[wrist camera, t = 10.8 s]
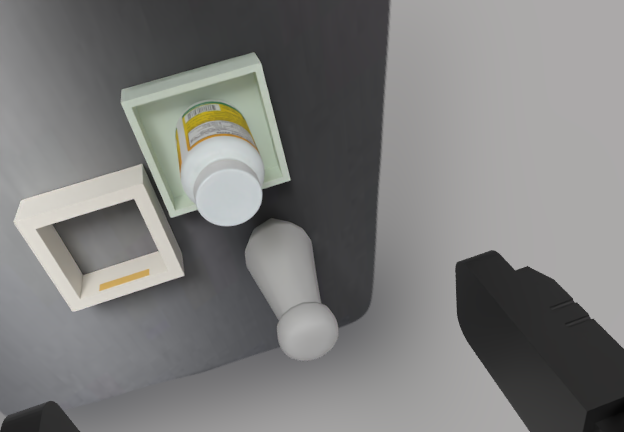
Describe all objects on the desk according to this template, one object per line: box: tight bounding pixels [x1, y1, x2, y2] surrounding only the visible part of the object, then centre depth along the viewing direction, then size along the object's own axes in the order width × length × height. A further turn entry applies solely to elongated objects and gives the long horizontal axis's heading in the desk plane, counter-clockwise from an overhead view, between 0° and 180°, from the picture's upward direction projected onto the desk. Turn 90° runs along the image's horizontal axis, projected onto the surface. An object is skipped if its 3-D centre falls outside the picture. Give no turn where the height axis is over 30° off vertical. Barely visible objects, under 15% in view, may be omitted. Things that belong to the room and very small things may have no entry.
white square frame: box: [14, 164, 185, 312], centre depth 40 cm, size 9×9×3 cm
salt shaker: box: [245, 218, 339, 361], centre depth 41 cm, size 6×6×13 cm
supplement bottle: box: [175, 99, 265, 226], centre depth 35 cm, size 5×5×10 cm
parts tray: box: [121, 52, 290, 218], centre depth 38 cm, size 10×10×2 cm
